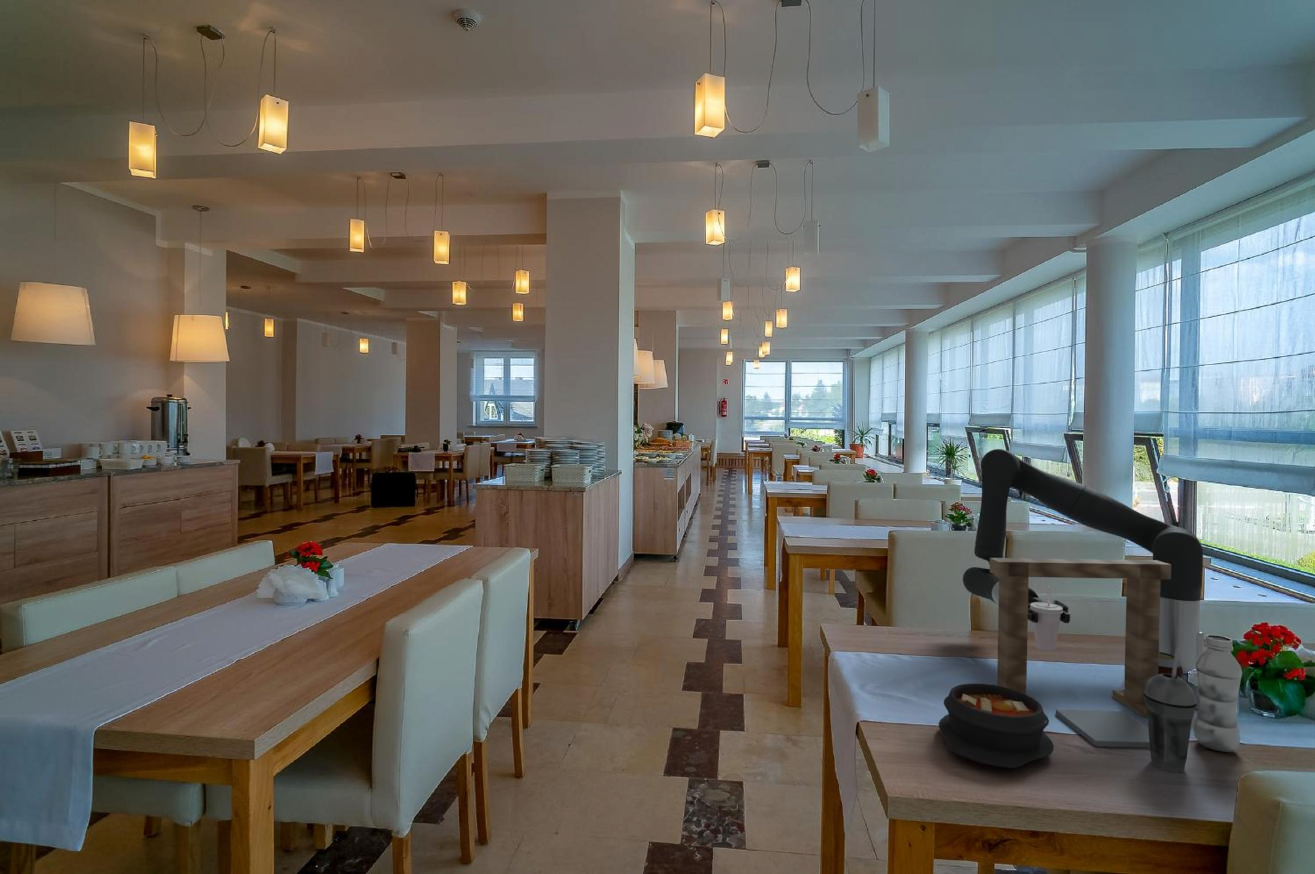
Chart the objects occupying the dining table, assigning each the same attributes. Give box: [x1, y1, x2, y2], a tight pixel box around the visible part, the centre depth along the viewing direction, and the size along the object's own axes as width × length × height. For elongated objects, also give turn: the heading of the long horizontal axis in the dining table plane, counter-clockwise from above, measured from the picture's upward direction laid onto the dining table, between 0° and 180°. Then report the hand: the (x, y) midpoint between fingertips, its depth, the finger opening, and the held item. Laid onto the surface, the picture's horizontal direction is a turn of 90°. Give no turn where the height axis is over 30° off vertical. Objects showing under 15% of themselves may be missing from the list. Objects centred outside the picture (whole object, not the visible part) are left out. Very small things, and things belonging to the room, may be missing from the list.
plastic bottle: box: [1192, 634, 1243, 753], centre depth 119 cm, size 6×7×20 cm
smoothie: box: [1030, 586, 1063, 652], centre depth 148 cm, size 6×6×14 cm
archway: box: [989, 557, 1171, 719], centre depth 136 cm, size 34×10×30 cm, turn 87°
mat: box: [1055, 708, 1150, 749], centre depth 126 cm, size 13×13×1 cm
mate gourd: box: [1158, 637, 1184, 679], centre depth 143 cm, size 8×8×15 cm
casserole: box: [938, 683, 1055, 769], centre depth 120 cm, size 25×19×8 cm
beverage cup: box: [1143, 649, 1198, 773], centre depth 113 cm, size 7×7×20 cm
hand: (1052, 618), depth 146 cm, fingers closed on smoothie, 6 cm apart
